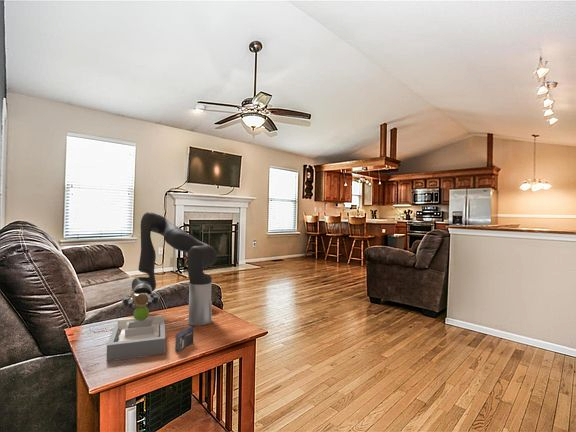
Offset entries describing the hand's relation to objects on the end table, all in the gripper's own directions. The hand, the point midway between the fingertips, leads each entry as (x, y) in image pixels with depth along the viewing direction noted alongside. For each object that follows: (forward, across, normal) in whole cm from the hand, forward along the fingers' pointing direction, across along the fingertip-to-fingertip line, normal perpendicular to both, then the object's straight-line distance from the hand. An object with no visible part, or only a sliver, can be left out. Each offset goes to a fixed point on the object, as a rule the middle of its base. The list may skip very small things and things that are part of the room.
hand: (140, 305), depth 116 cm
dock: (+8, 0, +12) cm, 14 cm away
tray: (-1, 0, +12) cm, 12 cm away
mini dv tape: (+15, +15, +12) cm, 24 cm away
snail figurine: (-3, 0, +7) cm, 7 cm away
